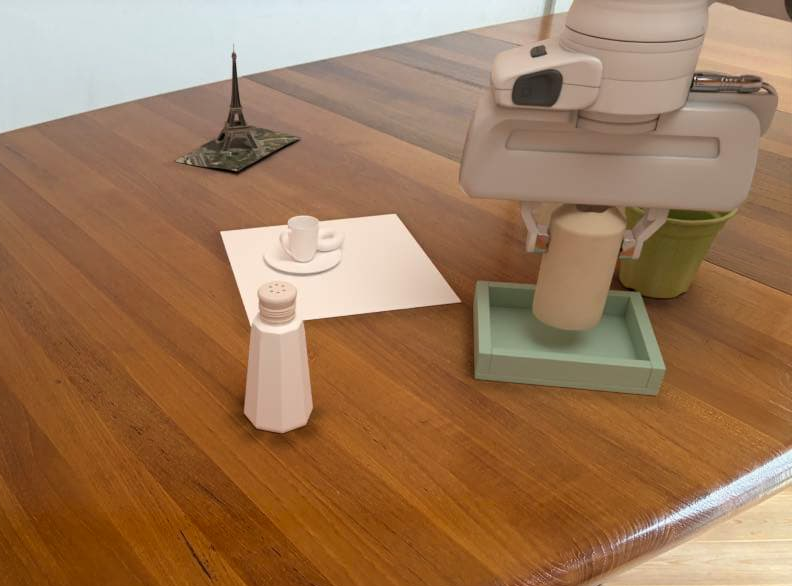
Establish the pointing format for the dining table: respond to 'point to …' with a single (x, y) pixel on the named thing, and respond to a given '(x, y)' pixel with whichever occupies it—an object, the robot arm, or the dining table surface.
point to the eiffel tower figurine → (237, 139)
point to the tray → (564, 343)
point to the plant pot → (671, 251)
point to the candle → (578, 265)
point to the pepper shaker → (278, 363)
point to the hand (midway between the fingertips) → (579, 252)
